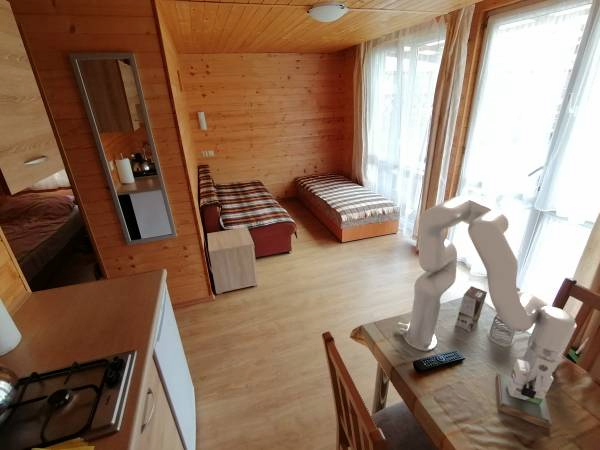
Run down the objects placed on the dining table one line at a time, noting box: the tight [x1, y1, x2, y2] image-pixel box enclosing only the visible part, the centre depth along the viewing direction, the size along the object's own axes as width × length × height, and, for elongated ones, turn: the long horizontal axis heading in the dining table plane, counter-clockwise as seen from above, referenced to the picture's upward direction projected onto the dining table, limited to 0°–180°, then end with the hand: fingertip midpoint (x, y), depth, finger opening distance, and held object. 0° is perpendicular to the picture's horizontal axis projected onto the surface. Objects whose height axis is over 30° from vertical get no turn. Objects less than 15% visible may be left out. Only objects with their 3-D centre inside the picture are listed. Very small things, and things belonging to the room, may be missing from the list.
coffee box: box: [455, 285, 488, 333], centre depth 126 cm, size 9×6×16 cm
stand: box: [495, 372, 552, 430], centre depth 97 cm, size 13×13×3 cm
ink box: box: [507, 358, 555, 404], centre depth 93 cm, size 8×5×12 cm, turn 69°
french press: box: [485, 286, 526, 347], centre depth 117 cm, size 10×12×25 cm
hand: (525, 387), depth 95 cm, fingers closed on ink box, 5 cm apart
